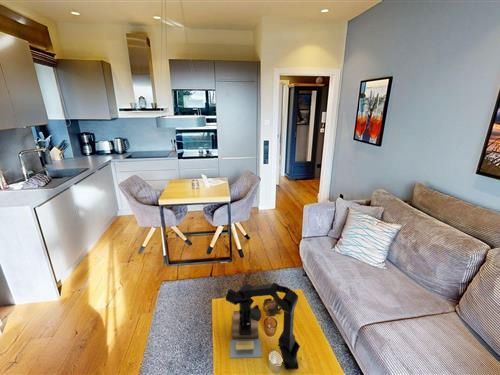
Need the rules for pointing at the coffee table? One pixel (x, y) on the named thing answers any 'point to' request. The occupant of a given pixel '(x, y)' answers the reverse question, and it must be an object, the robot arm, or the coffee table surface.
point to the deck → (236, 328)
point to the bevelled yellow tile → (244, 345)
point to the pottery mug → (271, 306)
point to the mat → (245, 352)
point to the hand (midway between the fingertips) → (245, 330)
